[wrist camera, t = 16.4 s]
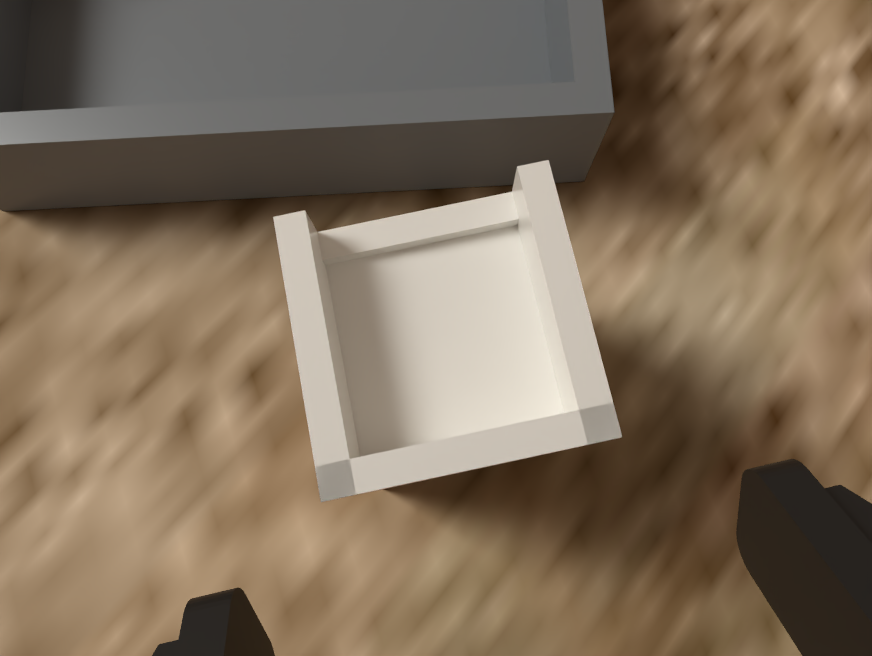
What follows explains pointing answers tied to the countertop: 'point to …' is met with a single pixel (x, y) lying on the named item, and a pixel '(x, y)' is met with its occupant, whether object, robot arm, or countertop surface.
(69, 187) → the tray
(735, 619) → the countertop surface
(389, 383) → the open white crate
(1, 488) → the countertop surface
